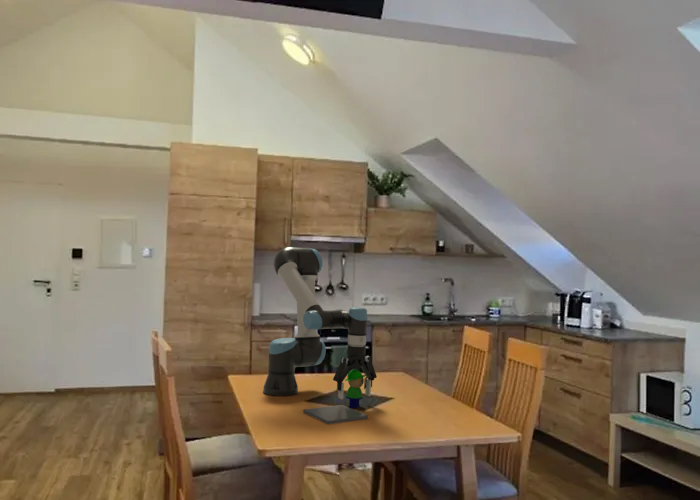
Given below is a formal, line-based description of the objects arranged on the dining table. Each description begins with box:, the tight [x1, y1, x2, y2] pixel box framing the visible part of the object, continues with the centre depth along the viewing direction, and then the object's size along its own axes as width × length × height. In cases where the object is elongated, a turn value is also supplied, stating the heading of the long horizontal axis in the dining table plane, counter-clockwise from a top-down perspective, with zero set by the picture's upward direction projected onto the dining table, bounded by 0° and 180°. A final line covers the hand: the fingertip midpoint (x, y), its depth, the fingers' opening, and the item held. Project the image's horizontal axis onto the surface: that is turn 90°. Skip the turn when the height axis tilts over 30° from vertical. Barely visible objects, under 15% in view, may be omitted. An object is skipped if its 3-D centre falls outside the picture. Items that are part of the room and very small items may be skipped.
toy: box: [344, 368, 368, 409], centre depth 249 cm, size 9×9×15 cm
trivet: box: [302, 404, 369, 425], centre depth 233 cm, size 18×18×1 cm
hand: (354, 397), depth 249 cm, fingers open, 13 cm apart
